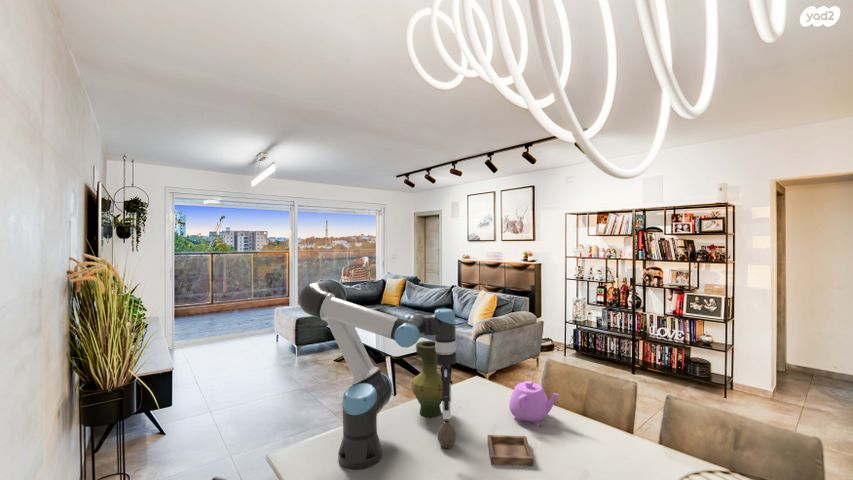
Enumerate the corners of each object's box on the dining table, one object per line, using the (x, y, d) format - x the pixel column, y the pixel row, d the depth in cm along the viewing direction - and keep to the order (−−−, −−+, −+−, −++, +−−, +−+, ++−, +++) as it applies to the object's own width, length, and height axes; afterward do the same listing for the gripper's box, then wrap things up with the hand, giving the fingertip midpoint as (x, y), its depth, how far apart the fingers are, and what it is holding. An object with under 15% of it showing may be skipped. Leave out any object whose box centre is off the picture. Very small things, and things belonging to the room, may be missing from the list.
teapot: (551, 437, 142) (551, 397, 142) (501, 424, 153) (501, 387, 153) (563, 416, 159) (562, 380, 159) (516, 405, 170) (516, 372, 170)
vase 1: (454, 409, 167) (453, 341, 167) (439, 425, 153) (438, 351, 153) (422, 402, 174) (421, 337, 174) (404, 417, 160) (403, 346, 160)
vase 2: (455, 451, 134) (454, 426, 134) (436, 449, 135) (435, 425, 135) (457, 441, 141) (457, 417, 141) (439, 439, 142) (439, 416, 142)
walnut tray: (490, 464, 126) (490, 456, 126) (487, 441, 140) (487, 434, 140) (533, 466, 125) (533, 458, 125) (526, 443, 139) (525, 436, 139)
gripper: (455, 362, 125) (457, 426, 125) (456, 342, 150) (457, 395, 150) (433, 362, 126) (435, 426, 126) (437, 342, 151) (438, 395, 151)
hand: (447, 409), depth 138 cm, fingers open, 13 cm apart
